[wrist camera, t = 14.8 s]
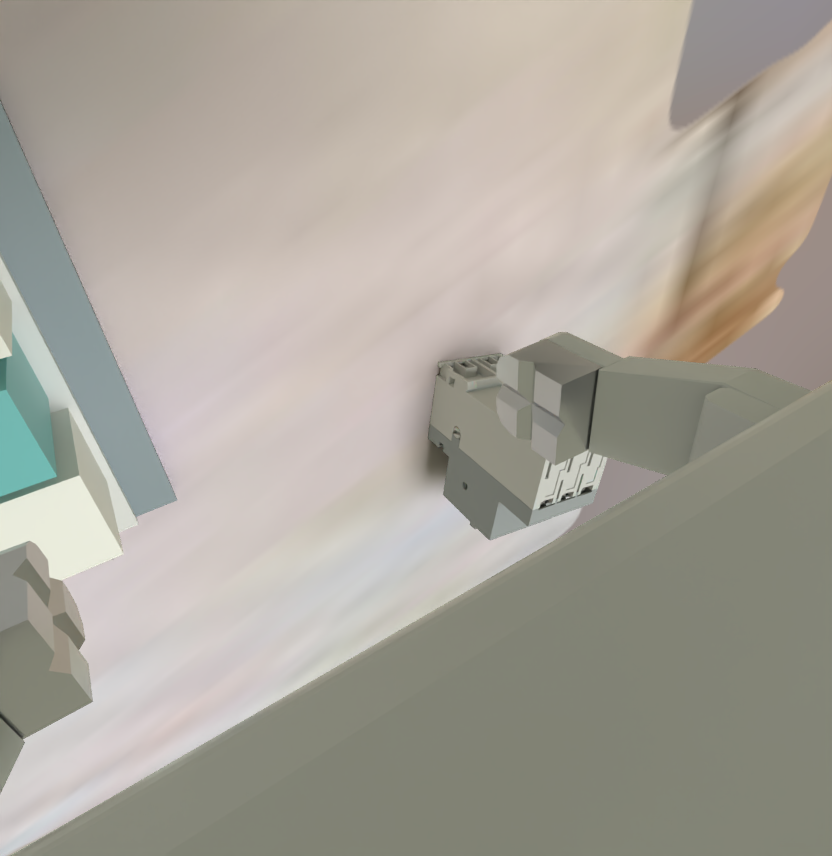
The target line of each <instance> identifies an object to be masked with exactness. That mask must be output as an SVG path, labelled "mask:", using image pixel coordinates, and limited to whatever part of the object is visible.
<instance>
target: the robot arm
mask: <svg viewBox="0 0 832 856" xmlns="http://www.w3.org/2000/svg"><path fill="white" fill-rule="evenodd" d="M496 378H497V379H498V380H499V381H500V382H501V383H502V386H501V388H500V390H499V392H498V394H497V396H496V406H497V413H498V416H499V418H500V421H501V423H502V425H503V426H504V427H505V428H506V430H507V431H508V432H509V433H511V434H512V435H513V436H515V437H516V438H520V439H525V440H530V444H531V449H532V450H534V451H535V452H537V453H538V454H539V455H541V456H542V457H543V458H545V459H546V460H548V461H549V462H550V463H552V464H553V465H555V466H556V465H558V464H560V463H562V462H564V461H566V460H568V459H570V458H572V457H575V456H577V455H579V454H581V453H583V452H585V451H587V450H589V451H588V452H590V453H593V454H597V455H600V456H604V457H607V458H611V459H614V460H617V461H621V462H624V463H628V464H631V465H634V466H638V467H641V468H644V469H648V470H651V471H655V472H658V473H662V474H665V475H667V476H665V477H664V478H662V479H660V480H658V481H657V482H655V483H653V484H651V485H650V486H648V487H647V488H645V489H643V490H641V491H639V492H638V493H636V494H635V495H632V496H631V497H629V498H627V499H625V500H624V501H622V502H620V503H619V504H617V505H615V506H613V507H612V508H610V509H608V510H607V511H605V512H603V513H601V514H600V515H598V516H596V517H594V518H593V519H591V520H589V521H587V522H586V523H584V524H582V525H580V526H579V527H577V528H575V529H574V530H572V531H570V532H568V533H567V534H565V535H563V536H561V537H560V538H558V539H556V540H554V541H553V542H551V543H549V544H548V545H546V546H544V547H542V548H541V549H539V550H537V551H535V552H534V553H532V554H530V555H529V556H527V557H525V558H523V559H522V560H520V561H518V562H516V563H515V564H513V565H511V566H510V567H508V568H506V569H504V570H503V571H501V572H499V573H497V574H496V575H494V576H492V577H491V578H489V579H487V580H485V581H484V582H482V583H480V584H479V585H477V586H475V587H473V588H472V589H470V590H468V591H466V592H465V593H463V594H461V595H460V596H458V597H456V598H454V599H453V600H451V601H449V602H447V603H446V604H444V605H442V606H441V607H439V608H437V609H435V610H434V611H432V612H430V613H428V614H427V615H425V616H423V617H422V618H420V619H418V620H416V621H415V622H413V623H411V624H409V625H408V626H406V627H404V628H403V629H401V630H399V631H397V632H396V633H394V634H392V635H390V636H389V637H387V638H385V639H384V640H382V641H380V642H378V643H377V644H375V645H373V646H372V647H370V648H368V649H366V650H365V651H363V652H361V653H359V654H358V655H356V656H354V657H353V658H351V659H349V660H347V661H346V662H344V663H342V664H340V665H339V666H337V667H335V668H334V669H332V670H330V671H328V672H327V673H325V674H323V675H321V676H320V677H318V678H316V679H315V680H313V681H311V682H309V683H308V684H306V685H304V686H302V687H301V688H299V689H297V690H296V691H294V692H292V693H290V694H289V695H287V696H285V697H283V698H282V699H280V700H278V701H277V702H275V703H273V704H271V705H270V706H268V707H266V708H264V709H263V710H261V711H259V712H258V713H256V714H254V715H252V716H251V717H249V718H247V719H245V720H244V721H242V722H240V723H239V724H237V725H235V726H233V727H232V728H230V729H228V730H226V731H225V732H223V733H221V734H220V735H218V736H216V737H214V738H213V739H211V740H209V741H208V742H206V743H204V744H202V745H201V746H199V747H197V748H195V749H194V750H192V751H190V752H189V753H187V754H185V755H183V756H182V757H180V758H178V759H176V760H175V761H173V762H171V763H170V764H168V765H166V766H164V767H163V768H161V769H159V770H157V771H156V772H154V773H152V774H151V775H149V776H147V777H145V778H144V779H142V780H140V781H138V782H137V783H135V784H133V785H132V786H130V787H128V788H126V789H125V790H123V791H121V792H119V793H118V794H116V795H114V796H113V797H111V798H109V799H107V800H106V801H104V802H102V803H100V804H99V805H97V806H95V807H94V808H92V809H90V810H88V811H87V812H85V813H83V814H81V815H80V816H78V817H76V818H75V819H73V820H71V821H69V822H68V823H66V824H64V825H62V826H61V827H59V828H57V829H56V830H54V831H52V832H50V833H49V834H47V835H45V836H44V837H42V838H40V839H38V840H37V841H35V842H33V843H31V844H30V845H28V846H26V847H25V848H23V849H21V850H19V851H18V852H16V853H14V854H12V855H11V856H832V380H831V381H829V382H827V383H826V384H824V385H822V386H821V387H819V388H817V389H815V390H814V391H810V390H808V389H805V388H803V387H800V386H798V385H795V384H793V383H790V382H788V381H785V380H783V379H780V378H778V377H775V376H773V375H770V374H768V373H766V372H763V371H761V370H758V369H756V368H746V367H736V366H725V365H714V364H704V363H694V362H683V361H673V360H663V359H652V358H642V357H631V356H629V357H627V358H624V359H623V358H621V357H619V356H617V355H615V354H613V353H611V352H608V351H606V350H604V349H602V348H600V347H598V346H596V345H593V344H591V343H589V342H587V341H585V340H583V339H580V338H578V337H576V336H574V335H572V334H570V333H568V332H558V333H556V334H554V335H551V336H549V337H547V338H544V339H542V340H540V341H539V342H536V343H534V344H532V345H529V346H527V347H524V348H522V349H519V350H517V351H514V352H512V353H510V354H507V355H505V356H502V357H500V358H499V361H498V363H497V366H496ZM84 641H85V635H84V629H83V623H82V620H81V617H80V614H79V611H78V608H77V605H76V603H75V601H74V599H73V598H72V596H71V594H70V592H69V590H68V589H67V587H66V586H65V584H64V583H63V581H61V580H57V579H54V578H50V577H49V566H48V559H47V558H46V557H45V555H44V554H43V553H42V551H41V550H40V549H39V547H38V546H37V545H36V544H35V543H33V542H31V541H27V542H24V543H22V544H19V545H16V546H13V547H11V548H8V549H5V550H3V551H0V793H1V791H2V789H3V787H4V785H5V783H6V781H7V779H8V777H9V775H10V772H11V770H12V768H13V766H14V764H15V762H16V760H17V758H18V756H19V754H20V752H21V749H22V747H23V745H24V743H25V742H24V741H23V739H24V738H26V737H28V736H30V735H32V734H34V733H36V732H37V731H39V730H41V729H43V728H45V727H47V726H49V725H50V724H52V723H54V722H56V721H58V720H60V719H62V718H63V717H65V716H67V715H69V714H71V713H73V712H75V711H76V710H78V709H80V708H82V707H84V706H86V705H88V704H89V703H91V702H93V699H92V691H91V682H90V674H89V666H88V663H87V661H86V660H85V658H84V657H83V656H82V654H81V653H80V651H79V649H80V647H81V646H82V644H83V642H84Z"/></svg>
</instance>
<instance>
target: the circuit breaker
mask: <svg viewBox="0 0 832 856" xmlns="http://www.w3.org/2000/svg"><path fill="white" fill-rule="evenodd" d="M502 356H503V354H501V353H500V354H493V355H486V356H478V357H471V358H464V359H457V360H450V361H443V362H438V367H439V368H441V370H440V375H436V382H435V390H434V397H433V404H432V411H431V419H430V426H429V434H428V439H429V440H431V441H432V442H433V443H434V444H435V445H436V446H437V447H438V448H439V447H443V448H444V449H443V452H444V453H445V454H446V455H447V456H448V457H449V460H448V467H447V473H446V479H445V486H444V492H443V495H444V496H445V497H446V498H447V499H448V500H449V501H450V502H451V503H452V504H453V505H454V506H455V507H456V508H457V509H458V510H459V511H460V512H461V513H462V514H464V516H465V517H466V518H467V519H468V520H469V521H470V525H471V526H472V527H473V528H474V529H478V530H479V531H480V532H481V533H482V534H483V535H484V536H485V537H486V538H488V539H489V540H493V539H495V538H498V537H501V536H504V535H506V534H509V533H512V532H515V531H518V530H520V529H523V528H526V527H529V526H531V525H534V524H537V523H540V522H543V521H545V520H548V519H551V518H552V517H555V516H558V515H561V514H564V513H566V512H569V511H572V510H575V509H578V508H581V507H583V506H586V505H589V504H592V503H593V501H594V497H595V495H596V492H597V488H598V486H599V482H600V479H601V476H602V473H603V470H604V467H605V464H606V461H607V457H604V456H600V455H597V454H593V453H590V452H588V451H589V450H587V451H585V452H583V453H581V454H579V455H577V456H575V457H572V458H570V459H568V460H566V461H564V462H562V463H560V464H558V465H556V466H555V465H553V464H552V463H550V462H549V461H548V460H546V459H545V458H543V457H542V456H541V455H539V454H538V453H537V452H535V451H534V450H532V449H531V444H530V440H525V439H520V438H516V437H515V436H513V435H512V434H511V433H509V432H508V431H507V430H506V428H505V427H504V426H503V425H502V423H501V421H500V418H499V416H498V413H497V406H496V396H497V394H498V392H499V390H500V388H501V386H502V383H501V382H500V381H499V380H498V379H497V378H496V366H497V363H498V361H499V358H500V357H502ZM485 360H486V361H485ZM461 364H463V366H462V365H461ZM566 497H571V498H567V499H566Z"/></svg>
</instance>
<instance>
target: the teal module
mask: <svg viewBox="0 0 832 856" xmlns="http://www.w3.org/2000/svg"><path fill="white" fill-rule="evenodd" d="M55 477H57V470H56V461H55V452H54V443H53V435H52V426H51V417H50V408H49V399H48V397H47V395H46V393H45V391H44V389H43V388H42V386H41V384H40V382H39V380H38V378H37V376H36V375H35V373H34V371H33V369H32V367H31V365H30V364H29V362H28V360H27V358H26V356H25V354H24V353H23V351H22V349H21V347H20V345H19V343H18V341H17V340H16V338H15V336H14V334H13V332H12V356H9V357H5V358H2V359H0V497H1V496H4V495H6V494H9V493H12V492H15V491H18V490H21V489H23V488H26V487H29V486H32V485H35V484H38V483H40V482H43V481H46V480H49V479H52V478H55Z"/></svg>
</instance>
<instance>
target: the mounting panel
mask: <svg viewBox="0 0 832 856" xmlns="http://www.w3.org/2000/svg"><path fill="white" fill-rule="evenodd" d="M12 332H13V334H14V336H15V338H16V340H17V341H18V343H19V345H20V347H21V349H22V351H23V353H24V354H25V356H26V358H27V360H28V362H29V364H30V365H31V367H32V369H33V371H34V373H35V375H36V376H37V378H38V380H39V382H40V384H41V386H42V388H43V389H44V391H45V393H46V395H47V397H48V399H49V408H50V417H51V426H52V435H53V443H54V452H55V461H56V470H57V477H55V478H52V479H49V480H46V481H43V482H40V483H38V484H35V485H32V486H29V487H26V488H23V489H21V490H18V491H15V492H12V493H9V494H6V495H4V496H1V497H0V551H3V550H5V549H8V548H11V547H13V546H16V545H19V544H22V543H24V542H27V541H31V542H33V543H35V544H36V545H37V546H38V547H39V549H40V550H41V551H42V553H43V554H44V555H45V557H46V558H47V559H48V566H49V577H50V578H54V579H57V580H64V579H66V578H68V577H71V576H73V575H75V574H78V573H80V572H82V571H85V570H87V569H90V568H92V567H94V566H97V565H99V564H101V563H104V562H106V561H108V560H111V559H113V558H116V557H118V556H120V555H123V554H124V553H123V549H122V544H121V540H120V536H119V532H121V531H124V530H126V529H129V528H131V527H134V526H136V525H139V524H138V521H137V516H139V515H142V514H144V513H147V512H149V511H152V510H154V509H157V508H159V507H162V506H164V505H167V504H169V503H172V502H174V501H176V500H177V498H176V496H175V493H174V491H173V489H172V486H171V484H170V482H169V480H168V477H167V475H166V473H165V471H164V468H163V466H162V464H161V462H160V459H159V457H158V455H157V453H156V450H155V448H154V446H153V444H152V441H151V439H150V437H149V435H148V432H147V430H146V428H145V426H144V423H143V421H142V419H141V417H140V414H139V412H138V410H137V408H136V405H135V403H134V401H133V398H132V396H131V394H130V392H129V389H128V387H127V385H126V383H125V380H124V378H123V376H122V374H121V371H120V369H119V367H118V365H117V362H116V360H115V358H114V356H113V353H112V351H111V349H110V347H109V344H108V342H107V340H106V338H105V335H104V333H103V331H102V329H101V326H100V324H99V322H98V320H97V317H96V315H95V313H94V311H93V308H92V306H91V304H90V302H89V299H88V297H87V295H86V293H85V290H84V288H83V286H82V283H81V281H80V279H79V277H78V274H77V272H76V270H75V268H74V265H73V263H72V261H71V259H70V256H69V254H68V252H67V250H66V247H65V245H64V243H63V241H62V238H61V236H60V234H59V232H58V229H57V227H56V225H55V223H54V220H53V218H52V216H51V214H50V211H49V209H48V207H47V205H46V202H45V200H44V198H43V196H42V193H41V191H40V189H39V187H38V184H37V182H36V180H35V177H34V175H33V173H32V171H31V168H30V166H29V164H28V162H27V159H26V157H25V155H24V153H23V150H22V148H21V146H20V144H19V141H18V139H17V137H16V135H15V132H14V130H13V128H12V126H11V123H10V121H9V119H8V117H7V114H6V112H5V110H4V108H3V105H2V103H1V101H0V359H2V358H5V357H9V356H12Z"/></svg>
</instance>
